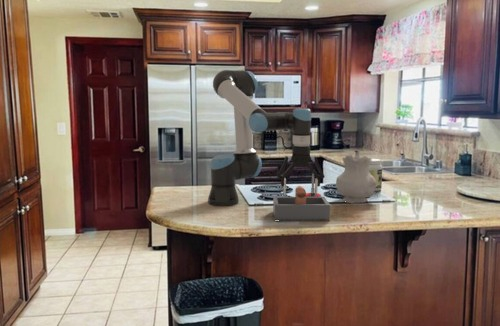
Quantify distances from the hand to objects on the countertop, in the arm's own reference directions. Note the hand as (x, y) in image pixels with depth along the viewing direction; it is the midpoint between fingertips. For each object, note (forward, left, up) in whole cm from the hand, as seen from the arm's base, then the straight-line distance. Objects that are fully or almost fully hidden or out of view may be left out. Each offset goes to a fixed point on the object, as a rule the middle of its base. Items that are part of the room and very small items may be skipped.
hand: (300, 193), depth 185 cm
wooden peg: (0, 0, -9) cm, 9 cm away
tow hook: (+11, +38, -11) cm, 41 cm away
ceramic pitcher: (+31, +29, -10) cm, 43 cm away
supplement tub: (+45, +53, -10) cm, 70 cm away
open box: (0, 0, -10) cm, 10 cm away
